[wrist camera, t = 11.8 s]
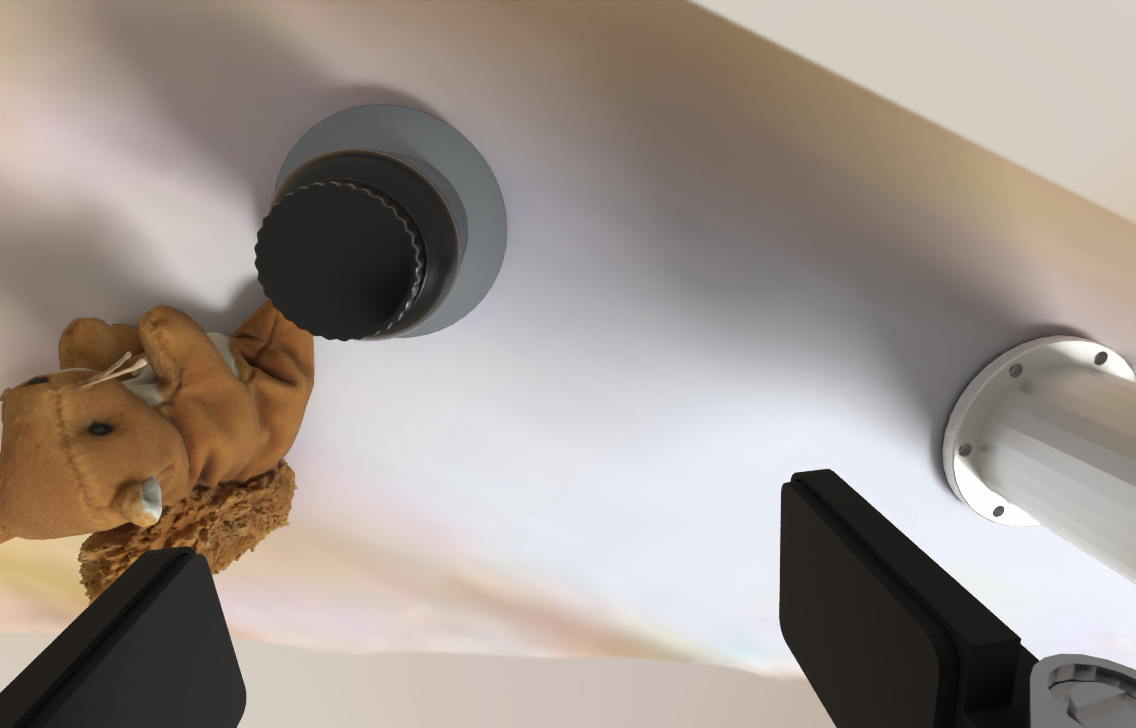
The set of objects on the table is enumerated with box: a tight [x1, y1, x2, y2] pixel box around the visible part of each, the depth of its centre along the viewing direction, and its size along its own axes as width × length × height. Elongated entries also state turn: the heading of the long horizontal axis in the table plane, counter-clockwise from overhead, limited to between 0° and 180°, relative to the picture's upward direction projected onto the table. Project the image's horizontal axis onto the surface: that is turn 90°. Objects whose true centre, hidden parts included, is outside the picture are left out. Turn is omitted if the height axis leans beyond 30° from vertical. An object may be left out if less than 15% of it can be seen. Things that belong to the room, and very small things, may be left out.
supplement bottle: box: [254, 148, 468, 341], centre depth 24 cm, size 7×7×12 cm
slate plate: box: [275, 105, 507, 338], centre depth 30 cm, size 11×11×2 cm
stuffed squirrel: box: [0, 299, 314, 606], centre depth 26 cm, size 10×14×13 cm
